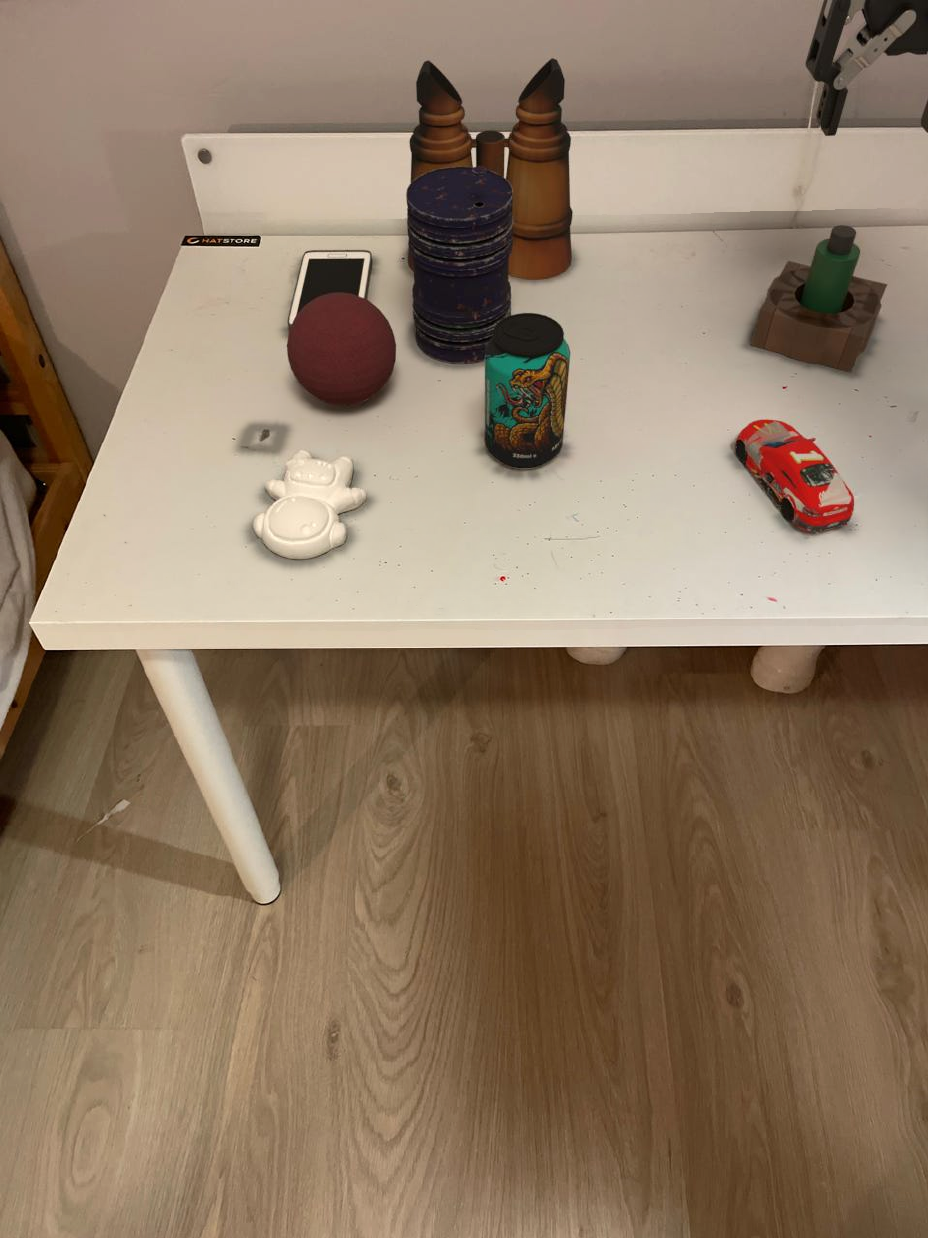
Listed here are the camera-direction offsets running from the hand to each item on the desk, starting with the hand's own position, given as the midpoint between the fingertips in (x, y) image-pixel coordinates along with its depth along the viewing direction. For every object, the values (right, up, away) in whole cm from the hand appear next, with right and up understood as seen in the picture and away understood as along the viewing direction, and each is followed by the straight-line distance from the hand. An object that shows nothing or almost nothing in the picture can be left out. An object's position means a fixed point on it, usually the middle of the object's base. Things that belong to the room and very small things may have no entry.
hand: (877, 130), depth 78 cm
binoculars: (-32, -1, +26) cm, 41 cm away
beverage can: (-29, -26, +6) cm, 40 cm away
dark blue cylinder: (-35, -12, +17) cm, 41 cm away
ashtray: (+1, -12, +16) cm, 20 cm away
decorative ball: (-46, -20, +12) cm, 51 cm away
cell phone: (-49, -6, +22) cm, 54 cm away
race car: (-7, -29, +3) cm, 30 cm away
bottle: (+1, -12, +16) cm, 20 cm away
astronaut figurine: (-48, -32, +2) cm, 57 cm away
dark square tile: (-53, -25, +8) cm, 59 cm away
